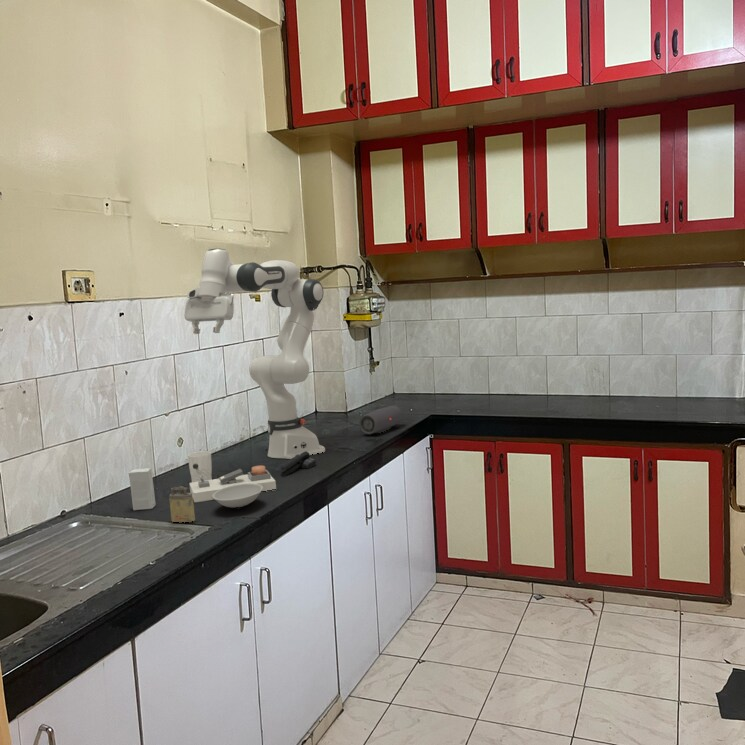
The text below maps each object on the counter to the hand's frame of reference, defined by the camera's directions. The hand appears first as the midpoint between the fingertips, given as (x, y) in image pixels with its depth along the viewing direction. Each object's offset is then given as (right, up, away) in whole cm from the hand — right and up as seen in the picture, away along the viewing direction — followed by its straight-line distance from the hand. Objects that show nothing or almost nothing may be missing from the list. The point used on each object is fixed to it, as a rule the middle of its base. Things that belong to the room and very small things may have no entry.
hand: (206, 333), depth 252 cm
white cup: (-3, -51, +5) cm, 52 cm away
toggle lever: (+2, -49, -13) cm, 50 cm away
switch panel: (+11, -52, -9) cm, 54 cm away
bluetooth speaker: (+61, -39, +71) cm, 101 cm away
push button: (+19, -47, -7) cm, 51 cm away
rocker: (+10, -48, -10) cm, 50 cm away
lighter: (+2, -56, -38) cm, 68 cm away
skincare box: (-14, -56, -22) cm, 61 cm away
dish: (+16, -54, -28) cm, 63 cm away
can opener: (+29, -49, +13) cm, 58 cm away
